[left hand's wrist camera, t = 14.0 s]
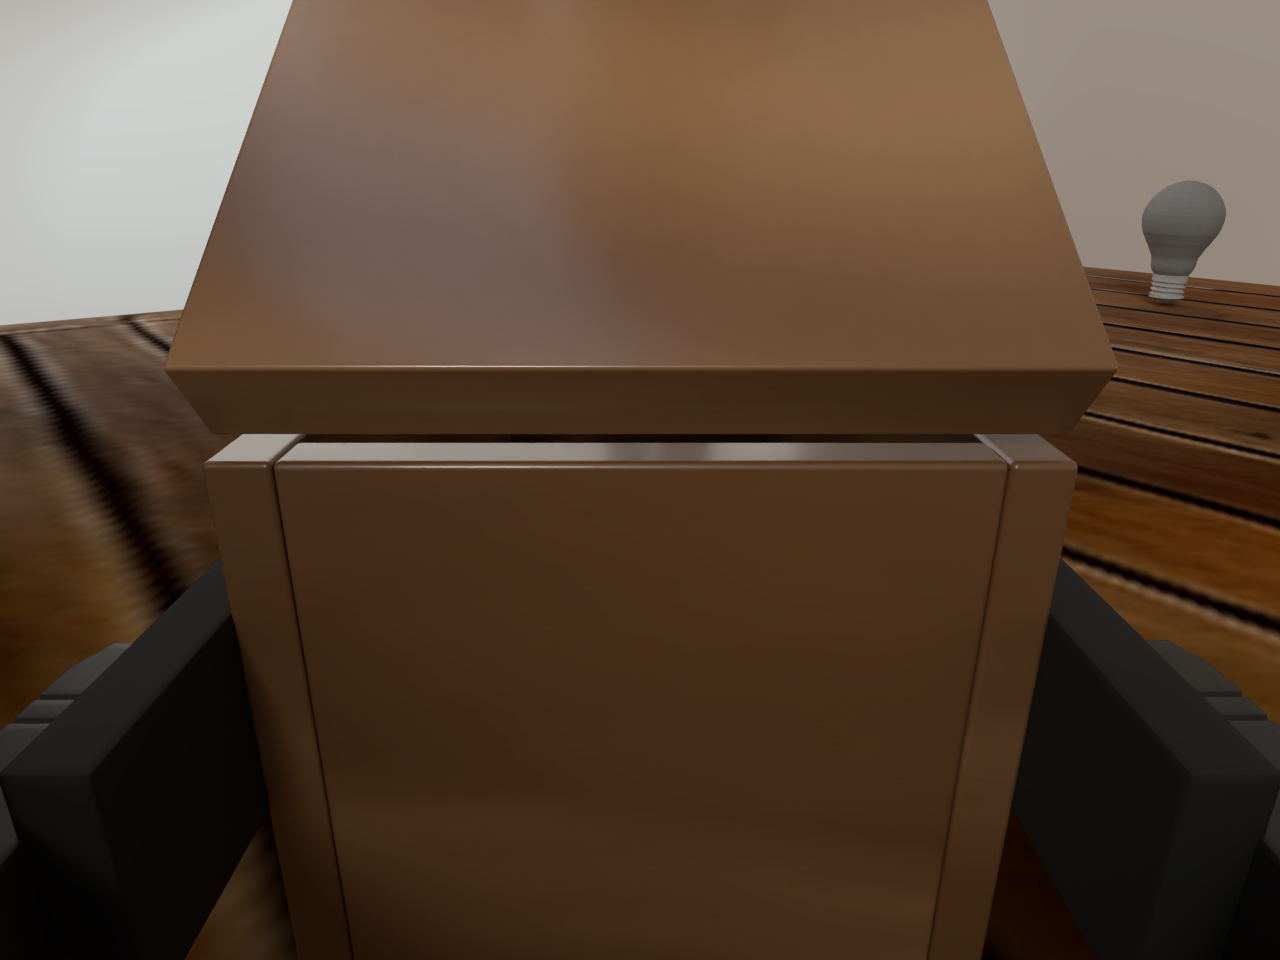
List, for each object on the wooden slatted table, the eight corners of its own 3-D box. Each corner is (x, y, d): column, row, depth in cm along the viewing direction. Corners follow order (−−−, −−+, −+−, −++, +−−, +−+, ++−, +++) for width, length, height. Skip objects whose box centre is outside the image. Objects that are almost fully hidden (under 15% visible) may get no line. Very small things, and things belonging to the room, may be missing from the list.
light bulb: (1142, 307, 73) (1168, 182, 70) (1115, 296, 79) (1137, 179, 75) (1218, 308, 73) (1248, 182, 69) (1185, 297, 78) (1211, 179, 75)
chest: (498, 565, 28) (478, 256, 24) (779, 565, 28) (799, 257, 24) (324, 1100, 12) (198, 463, 9) (956, 1099, 12) (1082, 463, 9)
